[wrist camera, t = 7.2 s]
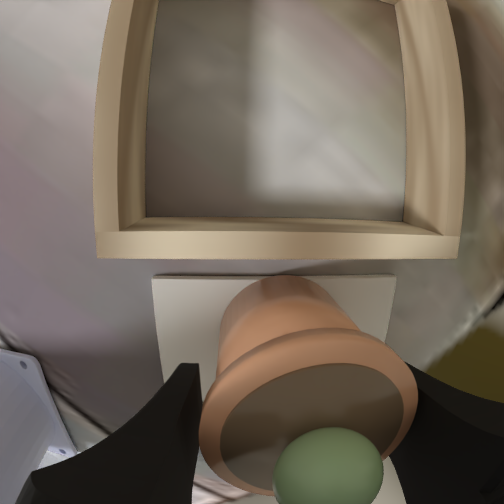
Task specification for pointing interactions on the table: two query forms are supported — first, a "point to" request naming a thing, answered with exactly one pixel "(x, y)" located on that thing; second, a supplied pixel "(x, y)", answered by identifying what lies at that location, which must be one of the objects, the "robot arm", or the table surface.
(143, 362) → the table surface
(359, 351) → the terracotta pot
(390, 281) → the grey mat
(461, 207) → the frame
